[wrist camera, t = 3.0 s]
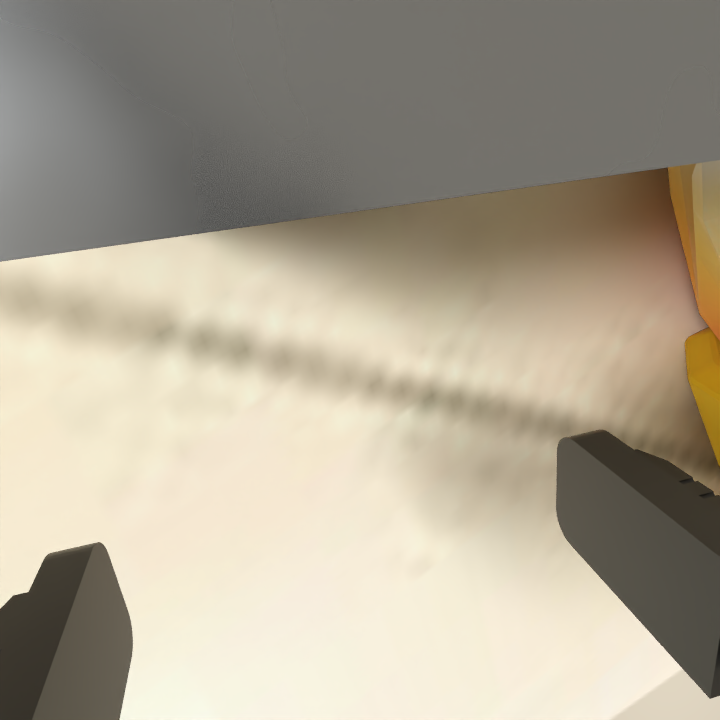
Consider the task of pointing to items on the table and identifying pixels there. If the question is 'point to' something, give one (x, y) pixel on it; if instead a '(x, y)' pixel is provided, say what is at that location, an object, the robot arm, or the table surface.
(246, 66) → the box
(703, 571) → the robot arm
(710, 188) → the torch
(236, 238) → the table surface
